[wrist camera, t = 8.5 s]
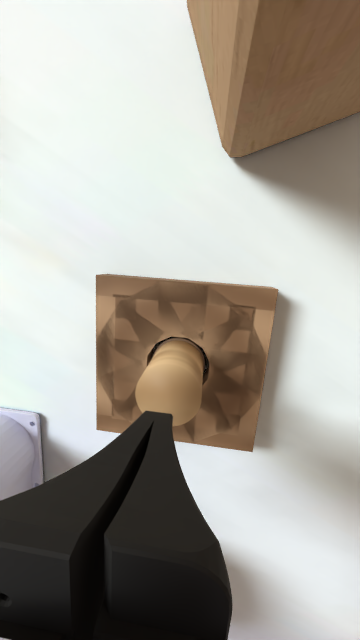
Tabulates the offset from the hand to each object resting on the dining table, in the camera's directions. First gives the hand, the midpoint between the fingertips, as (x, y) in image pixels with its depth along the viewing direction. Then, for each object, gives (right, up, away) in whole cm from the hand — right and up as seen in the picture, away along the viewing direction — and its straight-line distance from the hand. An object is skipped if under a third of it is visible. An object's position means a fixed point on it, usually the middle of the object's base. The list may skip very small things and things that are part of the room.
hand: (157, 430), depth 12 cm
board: (+1, +2, +9) cm, 10 cm away
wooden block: (+8, +22, +4) cm, 24 cm away
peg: (+1, +2, +9) cm, 10 cm away
